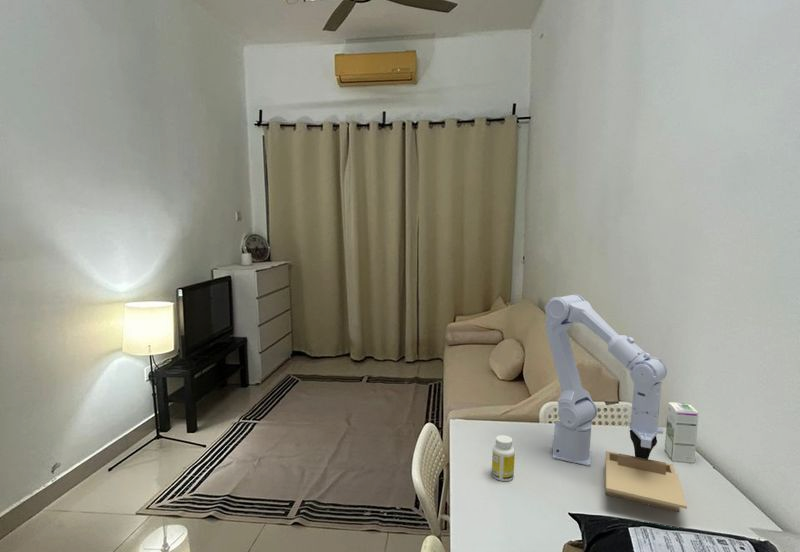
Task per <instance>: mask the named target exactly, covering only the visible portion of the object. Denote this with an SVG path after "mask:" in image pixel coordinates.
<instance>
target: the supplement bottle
mask: <svg viewBox="0 0 800 552" xmlns="http://www.w3.org/2000/svg"><path fill="white" fill-rule="evenodd" d="M515 451H516V450H515V448H514V446H513V438H512V437H510V436H508V435H503V434H500V435H498V436H496V437H495V444H494V446H493V447H492V456H491V458H492V459H491V461H492V462H491V475H492V477H493V478H494V479H496V480H498V481H502V482H509V481H512V480H513V479H514V474H515V455H516V454H515V453H516V452H515Z"/></svg>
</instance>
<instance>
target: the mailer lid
mask: <svg viewBox="0 0 800 552" xmlns="http://www.w3.org/2000/svg"><path fill="white" fill-rule="evenodd" d="M605 460H606V490H607V491H611V492H615V493H620V494H624V495H628V496H632V497H637V498H641V499H645V500H650V501H654V502H658V503H663V504H667V505H671V506H675V507H680V509H684V510H687V509H688V508H687V507H688V506H687V501H686V499H685V495H684V492H683V489H682V488H683V487H682V485H681V482H680V478H679V474H677V473H675V474H674V473H670V472H666V463H667V462H664V461H659V460H654V459H649V458H648V459H645V458H640V457H635V455H628V454H624V453H619V454H618V462H617V461H612V460H607V459H606V458H605Z"/></svg>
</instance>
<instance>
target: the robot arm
mask: <svg viewBox="0 0 800 552" xmlns="http://www.w3.org/2000/svg"><path fill="white" fill-rule="evenodd" d="M544 311H545V312H544V313H545V315H546V317H545V325H544V330H545V332H546V333H545V334H546V337H547V341H548V345H549V347H550V352H551V356H552V359H553V364H554V367H555V371H556V375H557V378H558V383H559V387H560V390H561V392H560V395H559V397H558V399H557V405H558V410H557V416H558V419H559V421H558V420H556V421H555V422H554V430H553V440H552V446H551V447H552V448H553V449H552V457H551V458H552V459H555V460H560V461H565V462H570V463H573V464H574V463H575V464H579V465H584V466H588V467H589V466H591V463H592V462H591V461H592V460H591V459H592V451H591V450H590V449H591V436H592V424H593V420H595V418H596V417H597V416H598V407H597V405H596V404H595V402H594V401H593V400H592V397H591V395H590V392H589V391H588V390H586V389H585V388H584V387H583V385H582V384H583V383H582V381H581V377H580V373H579V369H578V367H577V366H578V365H577V363H576V359H575V355H574V352H573V348H572V345H571V340H570V336H569V333H568V330H569V329H570V327H571V326H572V324H573V323H577V324H583V325H584V326H585V327H587V328H588V329H589V330H590V331H591V332H593V333H594V334H595V335H596V336H597V337H599V338H600V339H601V340H602V341H604V342H605V343H606V344H607V349H608V352H609V353H610V354H611V356H613V357H614V359H617V361H618V362H619V363H620V364H622V365H623V366H624V368H626V369H627V371H629V375H630V378H631V380H632V382H633V390H632V391H633V392H632V402H631V415H630V422H629V429H630V430H629V438H630V440H631V443H632V445H633V448H634V449H633V450H634V456H635V457H640V458H645V459H649V458H650V454H651V452H652V451H653V449H654V448H655V446H657V444H658V440H657V435H658V434H659V435H662V434H664V429H663V427H659V416H660V406H661V395H662V393H661V392H662V381H663V380H664V379H665V378H666V376H667V372H668V370H667V366H666V365H665V363H664V362H663V361H662V360H661V359H660V358H659V357H655V356H651V354H650V353H649V352H645V351H644V350H643V349H642V348H641V347H640V346H639V345H637V343H636V342H635V341H636V340H635V339H634V338H633V337H632V336H629V337H628V336H627V335H626V334H625V335H624V334H623V335H622V334H618V333H617V332H616V331H615V329H613V328H612V327H611V326H610V325H609V324H608V323H607V322H606V321H605V320H604V318H602V317H601V316H600V314H598V312H596V311H595V310H594V309H593V307H592V305H591V304H590V302H589V301H587V300H585V299H584V297H583V296H582V295H580V294H577V293H572V294H570V295H565V296H554V297H552V298H550V300H549V301H548V302H547V304H546V306H544Z"/></svg>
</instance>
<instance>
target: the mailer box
mask: <svg viewBox="0 0 800 552" xmlns="http://www.w3.org/2000/svg"><path fill="white" fill-rule="evenodd" d="M618 454H619V453H617V452H614V451H610V450H608V451H607V450H606V451H605V461H604V462H605V463H604V494H605V496H606V495H607V496H610V497H614V498H618V499H621V500H622V499H623V500H627V501H631V502H636V503H640V504H643V503H644V505H648V504H649V505H648V506H652V505H653V506H652V507H658V508H660V509H661V508H662V509H666V510H669V511H674V512H678V513H680V509H681V508H680V507H675V506H671V505H667V504H663V503H658V502H654V501H650V500H645V499H641V498H637V497H632V496H628V495H624V494H620V493H615V492H611V491H607V490H606V459H607V460H612V461H617V462H618ZM665 463H666V472H670V473H674V474H676V471H675V467H674V464H673V463H668V462H665Z"/></svg>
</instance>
